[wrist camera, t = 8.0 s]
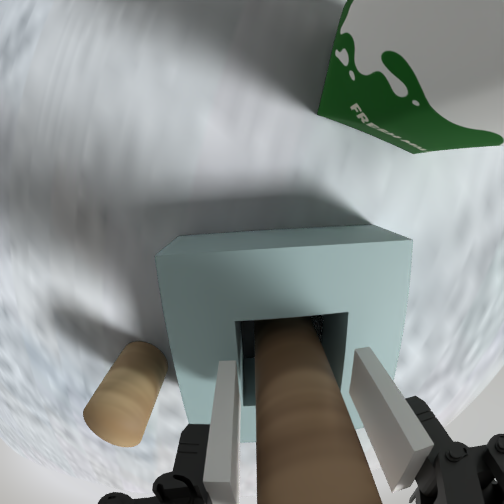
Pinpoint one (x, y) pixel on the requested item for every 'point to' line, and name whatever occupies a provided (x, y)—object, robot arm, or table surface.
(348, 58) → the milk carton
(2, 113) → the table surface
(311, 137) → the table surface
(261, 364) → the walnut pin long
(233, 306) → the socket block
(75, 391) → the table surface
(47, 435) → the table surface
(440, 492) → the robot arm
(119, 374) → the oak pin short
